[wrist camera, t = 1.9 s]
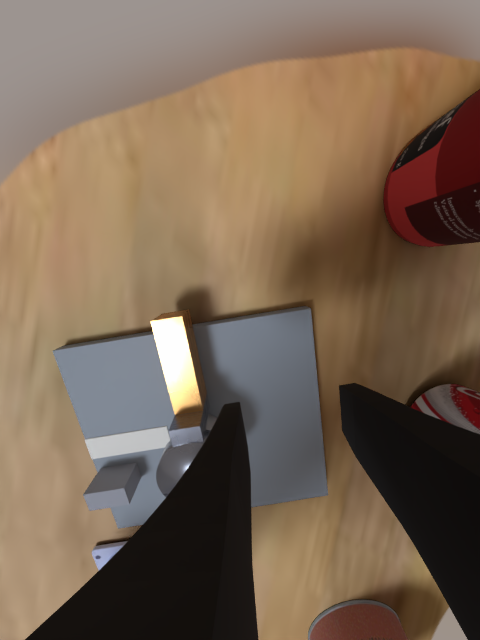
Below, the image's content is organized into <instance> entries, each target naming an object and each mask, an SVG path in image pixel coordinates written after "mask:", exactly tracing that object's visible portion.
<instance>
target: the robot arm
mask: <svg viewBox="0 0 480 640" xmlns="http://www.w3.org/2000/svg"><path fill="white" fill-rule="evenodd" d="M339 391H340V405H341V420H342V431H343V433H344V435H345V437H346V439H347V441H348V443H349V445H350V447H351V449H352V450H353V452H354V454H355V456H356V458H357V459H358V461H359V462H360V464H361V465H362V467H363V468H364V470H365V471H366V473H367V474H368V476H369V477H370V479H371V480H372V482H373V483H374V485H375V486H376V488H377V489H378V491H379V492H380V493H381V495H382V496H383V498H384V499H385V501H386V502H387V504H388V505H389V507H390V508H391V510H392V511H393V513H394V514H395V516H396V517H397V519H398V520H399V521H400V523H401V524H402V526H403V528H404V529H405V531H406V532H407V534H408V536H409V537H410V539H411V540H412V542H413V543H414V545H415V547H416V549H417V550H418V552H419V554H420V556H421V557H422V559H423V561H424V563H425V564H426V566H427V568H428V570H429V571H430V573H431V575H432V576H433V578H434V580H435V582H436V583H437V585H438V587H439V589H440V590H441V592H442V594H443V596H444V598H445V599H446V601H447V603H448V605H449V607H450V608H451V610H452V612H453V614H454V616H455V617H456V619H457V621H458V623H459V625H460V626H461V628H462V630H463V632H464V634H465V635H466V637H467V639H468V640H480V434H478V433H475V432H472V431H469V430H466V429H464V428H461V427H458V426H455V425H453V424H450V423H448V422H445V421H443V420H440V419H438V418H435V417H433V416H430V415H428V414H425V413H423V412H420V411H418V410H416V409H413V408H411V407H409V406H406V405H404V404H402V403H400V402H397V401H395V400H393V399H391V398H388V397H386V396H384V395H382V394H380V393H377V392H375V391H373V390H371V389H368V388H366V387H364V386H361V385H359V384H356V383H352V384H346V385H340V386H339ZM92 555H93V558H94V560H95V562H96V565H97V567H98V570H99V571H98V572H97V573H96V574H95V575H94V576H93V577H92V578H91V579H90V580H89V581H88V582H87V583H86V584H85V585H84V586H83V587H82V588H81V589H80V590H79V591H77V592H76V593H75V594H74V595H73V596H72V597H71V598H70V599H69V600H68V601H67V602H66V603H64V604H63V605H62V606H61V607H60V608H59V609H58V610H57V611H56V612H55V613H54V614H52V615H51V616H50V617H49V618H48V619H47V620H46V621H45V622H44V623H43V624H42V625H40V626H39V627H38V628H37V629H36V630H35V631H34V632H33V633H32V634H31V635H30V636H29V637H27V638H26V639H25V640H258V630H257V618H256V606H255V593H254V581H253V568H252V536H251V471H250V461H249V452H248V444H247V438H246V433H245V427H244V422H243V416H242V411H241V405H240V402H235V403H229V404H224V406H223V407H222V409H221V411H220V413H219V415H218V417H217V419H216V421H215V423H214V425H213V427H212V429H211V431H210V433H209V434H208V436H207V438H206V440H205V442H204V443H203V445H202V447H201V448H200V450H199V451H198V453H197V455H196V456H195V458H194V459H193V461H192V462H191V464H190V465H189V467H188V468H187V470H186V471H185V473H184V474H183V476H182V477H181V478H180V480H179V481H178V482H177V484H176V485H175V486H174V488H173V489H172V490H171V492H170V493H169V494H168V495H167V497H166V498H165V499H164V500H163V502H162V503H161V504H160V505H159V506H158V508H157V509H156V510H155V511H154V512H153V514H152V515H151V516H150V517H149V518H148V519H147V520H146V522H145V523H144V524H143V525H142V526H141V527H140V528H139V530H138V531H137V532H136V533H135V534H134V535H133V536H132V537H131V538H130V539H129V540H128V541H124V542H118V543H111V544H105V545H99V546H95V547H94V549H93V551H92Z"/></svg>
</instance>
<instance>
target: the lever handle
mask: <svg viewBox="0 0 480 640" xmlns="http://www.w3.org/2000/svg"><path fill="white" fill-rule="evenodd" d="M151 325H152V329H153V333H154V336H155V340H156V344H157V348H158V352H159V356H160V360H161V364H162V367H163V371H164V375H165V379H166V383H167V387H168V391H169V395H170V399H171V402H172V406H173V410H174V414H175V416H174V418H173V421H172V423H171V426H170V429H169V435H170V439H171V440H170V441H169V442H168V443H167V445H166V446H165V449H164V451H163V454H162V456H161V459H160V462H159V464H158V467H157V471H156V481H157V485H158V487H159V489H160V491H161V492H162V494H163V495H164V496H165V497H167V495H168V494H169V493H170V492H171V490H172V489H173V488H174V486H175V485H176V484H177V482H178V481H179V480H180V478H181V477H182V476H183V474H184V473H185V471H186V470H187V468H188V467H189V465H190V464H191V462H192V461H193V459H194V458H195V456H196V455H197V453H198V451H199V450H200V448H201V447H202V445H203V443H204V442H205V440H206V438H207V436H208V434H209V433H210V430H206V425H207V419H208V413H209V407H210V404H209V400H208V395H207V390H206V386H205V381H204V376H203V372H202V367H201V363H200V358H199V353H198V349H197V344H196V339H195V335H194V330H193V325H192V321H191V316H190V312H189V310H183V311H177V312H170V313H164V314H161V315H160V316H158V317H157V318H155V319H154V320H152V321H151Z"/></svg>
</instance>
